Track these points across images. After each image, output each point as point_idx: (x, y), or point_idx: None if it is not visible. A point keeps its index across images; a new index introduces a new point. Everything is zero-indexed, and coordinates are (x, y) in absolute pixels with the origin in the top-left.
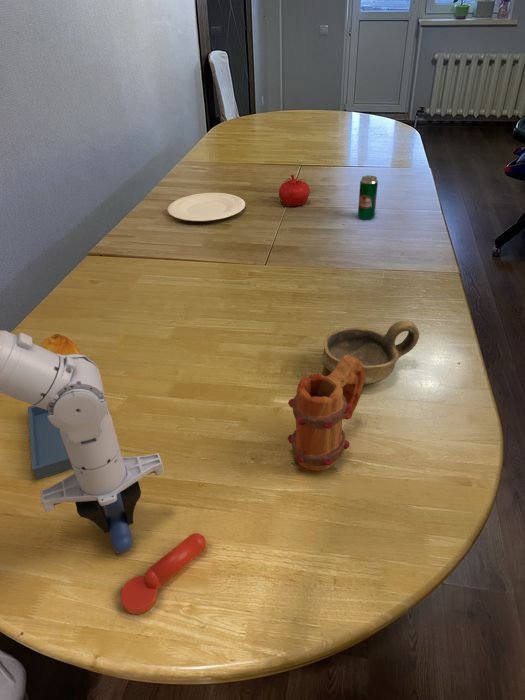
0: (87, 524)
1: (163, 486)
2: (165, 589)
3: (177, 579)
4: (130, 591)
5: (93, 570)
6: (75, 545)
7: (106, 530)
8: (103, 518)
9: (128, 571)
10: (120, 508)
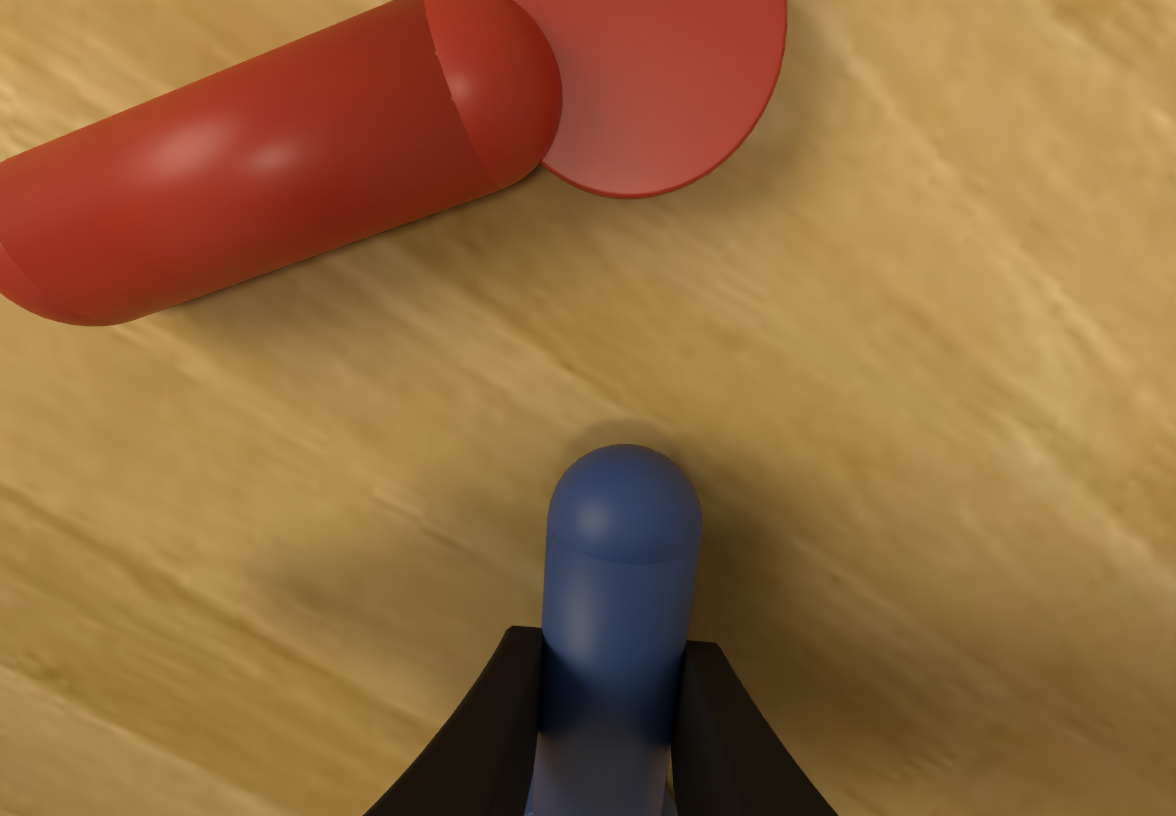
0: None
1: (291, 764)
2: None
3: None
4: (690, 81)
5: (853, 434)
6: (887, 646)
7: (706, 660)
8: (720, 790)
9: (646, 312)
10: (557, 774)
